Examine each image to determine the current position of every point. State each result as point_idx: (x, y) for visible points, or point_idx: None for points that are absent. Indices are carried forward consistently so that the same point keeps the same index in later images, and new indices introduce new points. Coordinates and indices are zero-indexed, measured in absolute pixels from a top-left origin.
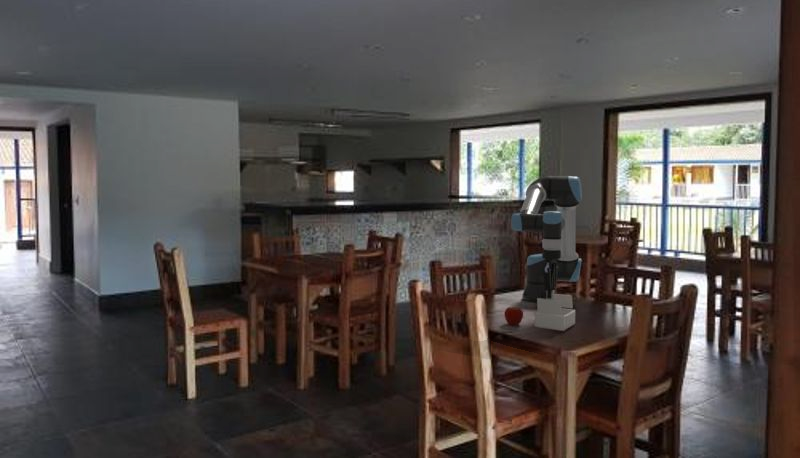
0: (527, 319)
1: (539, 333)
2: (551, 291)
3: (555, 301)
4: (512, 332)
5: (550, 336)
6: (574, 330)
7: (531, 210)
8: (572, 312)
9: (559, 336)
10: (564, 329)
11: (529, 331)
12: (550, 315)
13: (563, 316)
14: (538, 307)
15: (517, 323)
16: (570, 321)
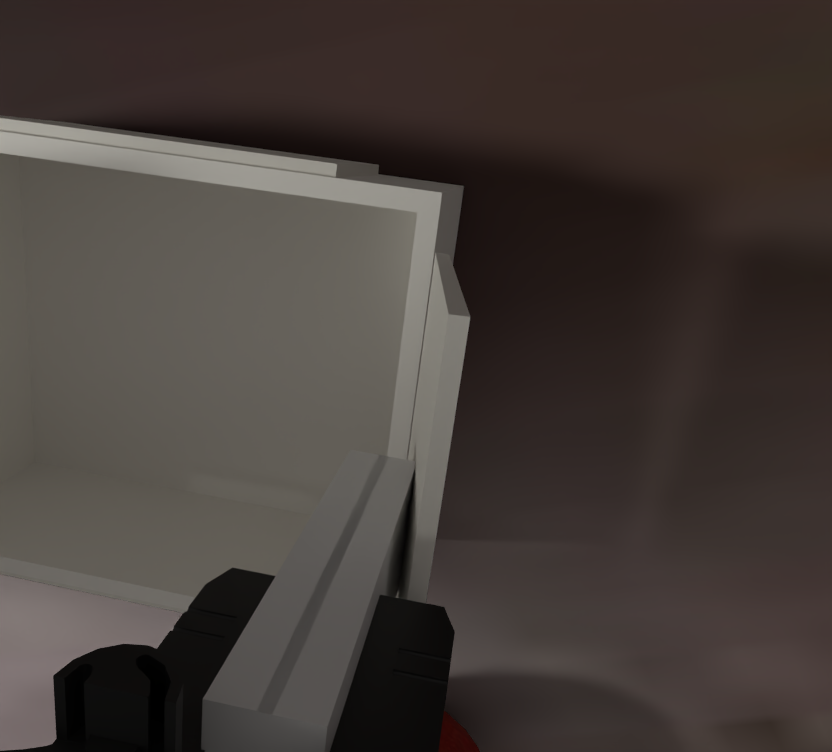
0: (129, 643)
1: (713, 446)
2: (338, 750)
3: (445, 452)
4: (776, 711)
5: (829, 297)
6: (360, 55)
7: None
8: (19, 126)
9: (787, 185)
10: (437, 182)
11: (656, 560)
12: (410, 427)
13: (436, 209)
14: None
15: (452, 719)
16: (194, 140)
